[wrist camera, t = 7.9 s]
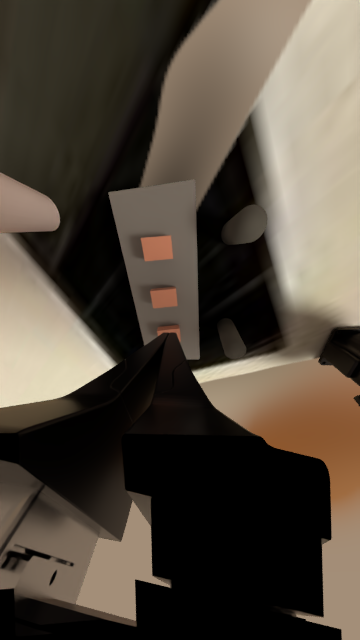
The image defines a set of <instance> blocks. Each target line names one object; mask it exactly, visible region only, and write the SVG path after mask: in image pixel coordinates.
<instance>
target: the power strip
mask: <svg viewBox="0 0 360 640" xmlns="http://www.w3.org/2000/svg"><path fill="white" fill-rule="evenodd" d="M108 194H109V198H110V202H111V206H112V210H113V215H114V219H115V223H116V227H117V232H118V236H119V240H120V244H121V248H122V253H123V257H124V261H125V265H126V270H127V274H128V278H129V282H130V286H131V291H132V295H133V299H134V303H135V308H136V312H137V316H138V320H139V324H140V329H141V333H142V337H143V341H144V346H145V345H146V344H148V343H149V342H151V341H152V340H153V339H155V338H156V337H158V333H157V329H158V327H163V326H172V325H179V327H180V337H181V342H180V344H181V346H182V349H183V351H184V354H185V357H186V359H200V356H199V314H198V272H197V230H196V187H195V180H188V181H181V182H174V183H168V184H161V185H155V186H148V187H141V188H134V189H128V190H121V191H114V192H108ZM170 235H171V241H172V252H173V259H165V260H154V261H145V259H144V254H143V248H142V242H141V238H146V237H158V236H170ZM167 287H176V294H177V305H178V306H172V307H163V308H153V304H152V299H151V293H150V291H151V289H157V288H167Z"/></svg>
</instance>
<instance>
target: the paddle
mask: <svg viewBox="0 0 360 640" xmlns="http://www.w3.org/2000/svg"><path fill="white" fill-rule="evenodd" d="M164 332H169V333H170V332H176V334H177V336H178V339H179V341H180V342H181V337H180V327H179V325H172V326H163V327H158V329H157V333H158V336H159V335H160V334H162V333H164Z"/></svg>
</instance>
